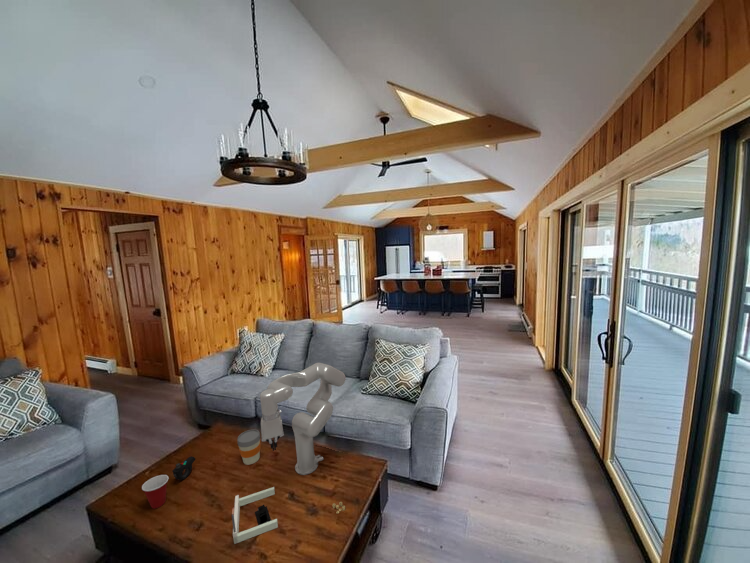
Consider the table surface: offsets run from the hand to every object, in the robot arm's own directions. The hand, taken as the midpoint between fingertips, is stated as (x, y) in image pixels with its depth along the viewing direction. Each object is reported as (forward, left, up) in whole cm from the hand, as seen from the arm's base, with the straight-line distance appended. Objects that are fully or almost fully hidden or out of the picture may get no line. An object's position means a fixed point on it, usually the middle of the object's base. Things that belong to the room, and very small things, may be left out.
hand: (274, 448), depth 151 cm
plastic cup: (+56, -18, -23) cm, 63 cm away
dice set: (-26, +24, -24) cm, 42 cm away
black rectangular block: (+8, +13, -24) cm, 28 cm away
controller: (+47, -33, -23) cm, 62 cm away
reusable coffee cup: (+13, -31, -23) cm, 41 cm away
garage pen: (+11, +11, -23) cm, 28 cm away
